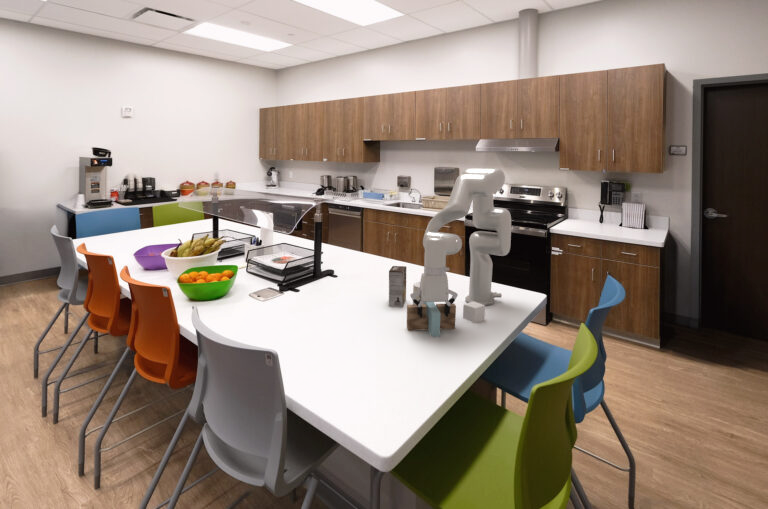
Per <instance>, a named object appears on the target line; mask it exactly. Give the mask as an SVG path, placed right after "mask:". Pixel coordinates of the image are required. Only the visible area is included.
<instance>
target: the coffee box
mask: <svg viewBox="0 0 768 509" xmlns="http://www.w3.org/2000/svg"><path fill="white" fill-rule="evenodd" d="M406 302H407V266H405V265H404V266H403V265H402V266H401V265H393V266H392V267H390V269H389V270H388V307H393V308H394V307H395V308H403V307H404V306H405V303H406Z"/></svg>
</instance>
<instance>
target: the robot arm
mask: <svg viewBox="0 0 768 509" xmlns="http://www.w3.org/2000/svg"><path fill="white" fill-rule="evenodd" d="M505 181H506V175H505V172H504V171H503V170H502V169H501V168H493V167H492V168H490V167H489V168H486V167H468V168H466V169H464V170H463V171H462V174H460V175H458V176H457V177H456V180H455V181H454V185H453V187H452V190H451V193H450V195H449V199H448V202H447V204H446V206H445V207H444V208H442V209H441V210H439V211H438V212H437V213H436V214H435V215H434V216H432V218H431V219H430V221H428V224H427V227H426V229H425V231H424V234H423V238H422V245H423V249H424V259H423V260H424V269H423V270H424V271H423V273H421V276H420V281H419V282H420V290H418V291H416V292H414V293H413V292H412V293H410V295H409V297H410V298H411V299H412V303H413V302H414V303H415V304H416V305H417V314H418V315H419V316H420V318H422V305H423V303H424V302H434V303H437V302H438V303H443V302H444V304H445V311H444V314H445V316H446V317H448V314H450V306H451V304H452V303H454V302H456V300H457V297H458V296H459V295H458V292H456V291H453V290H451V289H449V280H448V275H447V274H448V273H447V272H450V267H449V266H446V262H447V256H449V255H456V254H457V253H459V252H460V251H461V248H462V246H463V241H462V238H461V237H460V236H459V235H458V234H456V233H449V232H441V231H440V229H441V228H443V226H445V225H446V224H448V223H449V224H450V223H451V222H454V221H457V220H459V219H463V218H465V217H466V216H467V215H468V214H469V211H470V209H471V206H472V223H473V226H474V227H475V228H476V229H481V230H478V231H474V232H473V233H471V234H470V236H469V241H468V244H469V252H470V264H469V266H470V269H469V288H468V290H469V291H468V295H466V296H465V298H464V299H465V300H464V301H465V302H466V303H470V302H477V303H480V304H483V305H485V306H490V305H493V304H494V303H495V298H502V296H503V295H502V293H501V292H500V293H499V292H496V291H494V292H493V291H492V279H493V267H494V266H493V261H492V258H491V256H492V255H494V256H499V257H500V256H501V257H504V256H507V255H508V254H509V253H510V251H511V246H512V245H511V240H512V238H511V237H512V216H511V212H510V211H509V210H508V209H507V208H503V207H495V206H494V195H495V194H496V193H497V192H498V191H500V190H501V189H502V188H503V187H504V184H505ZM483 230H484V231H483ZM485 230H488V231H485ZM492 231H496V232H492ZM417 295H419V297H420V299H419V300H418V301H417V300H416V299H415V297H416V296H417ZM449 295H451V297H450V299H449Z"/></svg>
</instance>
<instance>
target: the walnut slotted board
mask: <svg viewBox="0 0 768 509" xmlns="http://www.w3.org/2000/svg"><path fill="white" fill-rule="evenodd" d="M445 304H446V303H435V305H436V307H437V308H438V310H439V311H440V330H453V329H456V318H457V305H456V304H455V303H454V302H453V303H452V304H451V306H450V314H448V317H446V316H445V314H444V311H445ZM426 313H427V307H426V305H425V304H423V305H422V318H420V316H419V315H418V314H417V305H416V304H414V305H413V304H406V329H407V331H420V330H421V331H423V330H424V331H427V330H428V321H429V319H428V317H427V316H426Z"/></svg>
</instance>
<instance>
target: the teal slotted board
mask: <svg viewBox="0 0 768 509" xmlns="http://www.w3.org/2000/svg"><path fill="white" fill-rule="evenodd" d="M424 304H425V305H426V307H427V313H426V316H427V317H428V319H429V321H428V333H429V335H430V336H431V337H432V338H437V337H440V336H441V335H440V334H441V331H440V330H441V329H440V311H439V310H438V308H437V307H436V303H435V302H424Z"/></svg>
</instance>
